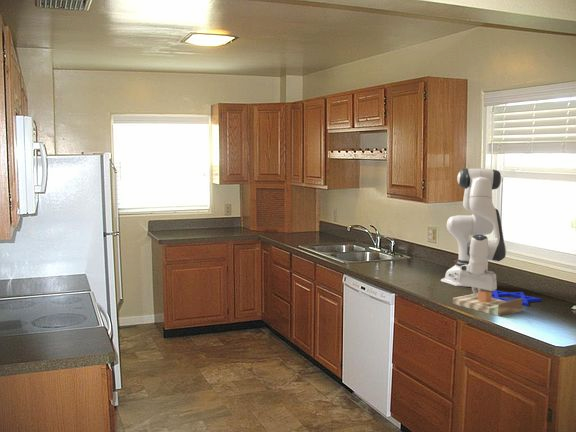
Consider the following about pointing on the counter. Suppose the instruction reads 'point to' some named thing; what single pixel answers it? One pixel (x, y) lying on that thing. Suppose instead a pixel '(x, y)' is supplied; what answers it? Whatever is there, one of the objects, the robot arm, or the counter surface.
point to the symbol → (515, 294)
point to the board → (489, 305)
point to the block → (484, 296)
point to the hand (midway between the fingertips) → (476, 296)
